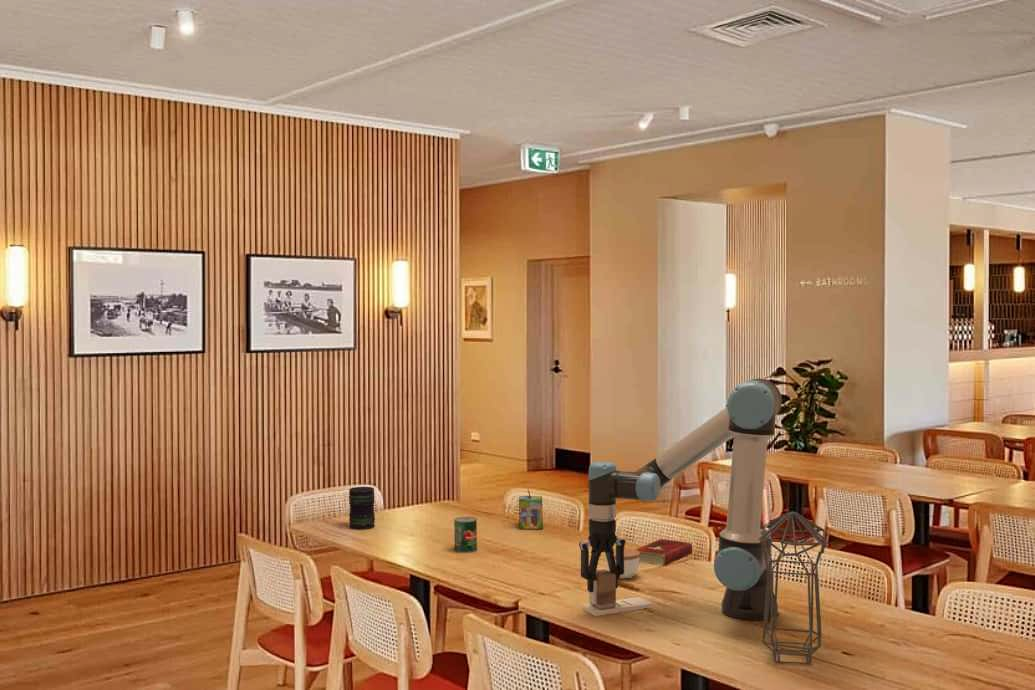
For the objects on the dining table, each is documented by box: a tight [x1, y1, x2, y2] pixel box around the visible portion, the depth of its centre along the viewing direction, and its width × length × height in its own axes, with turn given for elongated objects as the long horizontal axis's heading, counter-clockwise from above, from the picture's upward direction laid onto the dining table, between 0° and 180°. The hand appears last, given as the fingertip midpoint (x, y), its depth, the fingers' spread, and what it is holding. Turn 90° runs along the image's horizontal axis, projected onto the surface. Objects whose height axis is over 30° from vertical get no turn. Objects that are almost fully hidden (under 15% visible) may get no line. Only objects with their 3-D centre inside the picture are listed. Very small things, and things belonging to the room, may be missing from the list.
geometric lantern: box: [759, 511, 829, 665], centre depth 235 cm, size 16×16×35 cm
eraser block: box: [589, 568, 617, 609], centre depth 275 cm, size 6×5×9 cm
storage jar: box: [348, 486, 376, 531], centre depth 386 cm, size 10×10×15 cm
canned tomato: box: [453, 516, 478, 554], centre depth 346 cm, size 8×8×11 cm
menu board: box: [582, 596, 653, 617], centre depth 277 cm, size 7×18×1 cm, turn 114°
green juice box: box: [518, 488, 544, 531], centre depth 383 cm, size 9×9×15 cm
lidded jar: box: [604, 547, 640, 579], centre depth 310 cm, size 11×11×9 cm
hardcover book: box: [633, 538, 693, 567], centre depth 334 cm, size 12×21×4 cm, turn 145°
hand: (602, 601), depth 275 cm, fingers closed on eraser block, 5 cm apart
